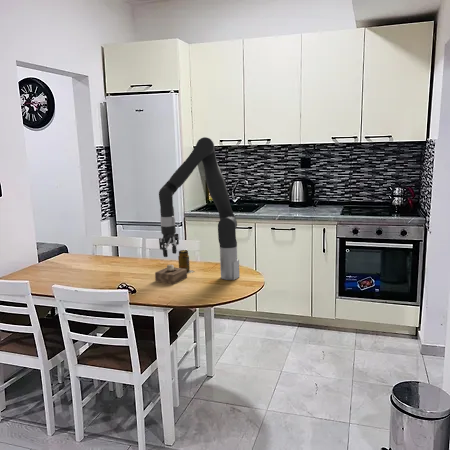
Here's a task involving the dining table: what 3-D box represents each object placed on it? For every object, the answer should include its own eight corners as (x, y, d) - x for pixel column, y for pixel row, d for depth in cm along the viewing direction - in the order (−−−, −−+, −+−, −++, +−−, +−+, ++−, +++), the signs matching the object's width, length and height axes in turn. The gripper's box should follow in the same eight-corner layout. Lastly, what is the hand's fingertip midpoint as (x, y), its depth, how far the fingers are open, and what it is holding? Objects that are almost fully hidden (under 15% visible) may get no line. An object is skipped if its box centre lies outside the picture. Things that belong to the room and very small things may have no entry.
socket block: (187, 277, 232) (186, 269, 231) (173, 284, 222) (173, 275, 221) (169, 275, 238) (168, 266, 237) (155, 281, 228) (155, 272, 227)
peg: (175, 279, 231) (175, 264, 229) (171, 281, 228) (171, 266, 226) (170, 278, 232) (169, 264, 231) (166, 280, 229) (165, 265, 228)
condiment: (186, 268, 250) (185, 248, 248) (194, 271, 243) (193, 251, 241) (175, 271, 245) (174, 251, 243) (183, 274, 239) (182, 253, 237)
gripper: (165, 227, 217) (167, 259, 220) (181, 222, 229) (183, 252, 232) (153, 226, 220) (156, 257, 223) (170, 221, 233) (172, 251, 236)
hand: (170, 255), depth 228 cm, fingers open, 7 cm apart
